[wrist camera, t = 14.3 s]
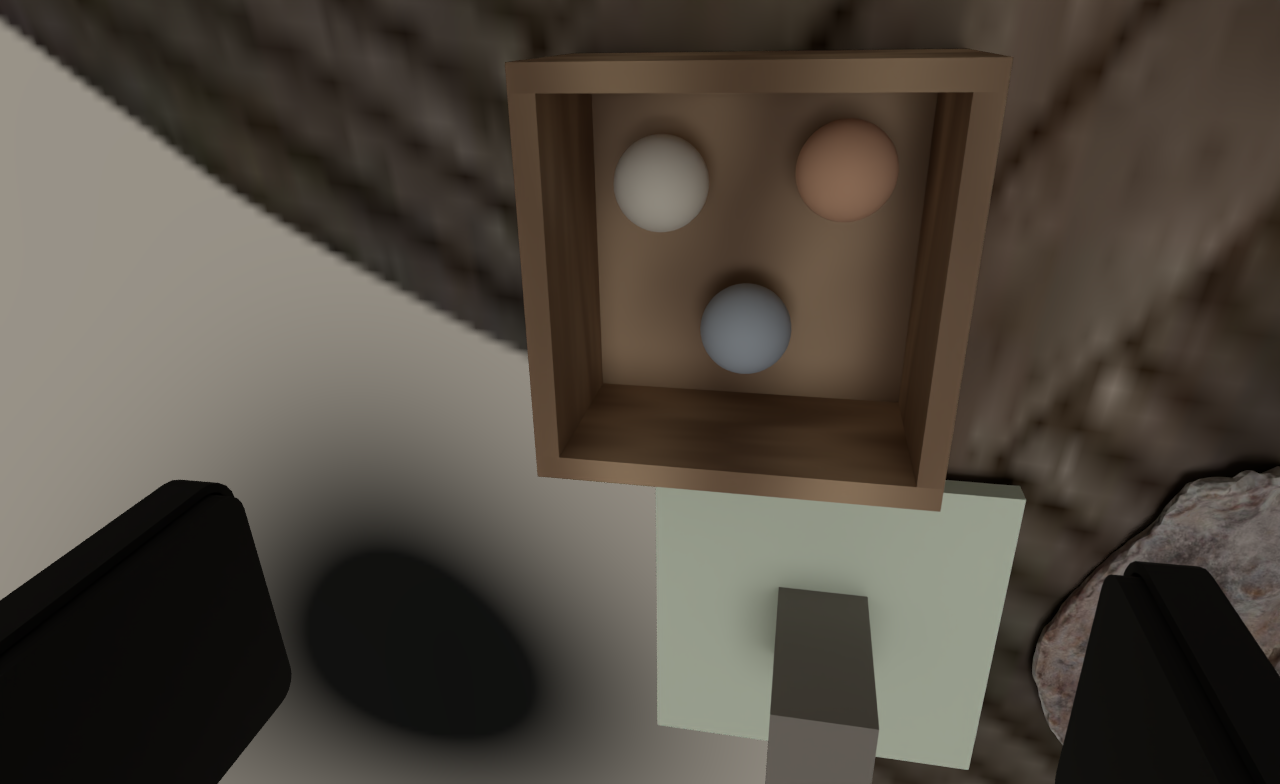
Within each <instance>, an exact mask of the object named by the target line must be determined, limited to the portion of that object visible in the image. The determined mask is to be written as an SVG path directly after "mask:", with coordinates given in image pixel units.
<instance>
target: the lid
mask: <svg viewBox="0 0 1280 784" xmlns="http://www.w3.org/2000/svg"><path fill="white" fill-rule="evenodd" d="M1025 502H1026V499H1025V496H1024V494H1023V492H1022V490H1021V487H1020V486H1012V485H1000V484H988V483H976V482H964V481H952V480H945V486H944V493H943V499H942V505H941V511H940V512H936V511H925V510H913V509H902V508H891V507H879V506H868V505H857V504H845V503H834V502H823V501H811V500H800V499H789V498H777V497H766V496H755V495H743V494H732V493H721V492H709V491H698V490H687V489H675V488H664V487H656V573H657V575H656V580H657V581H656V582H657V583H656V585H657V586H656V587H657V700H658V701H657V709H658V711H657V712H658V713H657V714H658V715H657V717H658V725H663V726H670V727H677V728H683V729H690V730H697V731H704V732H710V733H717V734H724V735H731V736H738V737H745V738H752V739H759V740H766V741H768V752H767V766H766V767H767V768H766V781H765V784H871V783H872V776H873V769H874V762H875V756H876V757H883V758H890V759H897V760H903V761H910V762H917V763H924V764H931V765H938V766H945V767H952V768H959V769H965V770H969V765H970V760H971V755H972V751H973V746H974V741H975V737H976V732H977V727H978V723H979V718H980V713H981V709H982V704H983V699H984V695H985V690H986V685H987V680H988V676H989V671H990V666H991V662H992V657H993V652H994V648H995V643H996V638H997V634H998V629H999V624H1000V620H1001V615H1002V610H1003V606H1004V601H1005V596H1006V591H1007V587H1008V582H1009V577H1010V573H1011V568H1012V563H1013V559H1014V554H1015V549H1016V545H1017V540H1018V535H1019V531H1020V526H1021V521H1022V516H1023V512H1024V507H1025Z"/></svg>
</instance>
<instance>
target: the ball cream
mask: <svg viewBox="0 0 1280 784" xmlns="http://www.w3.org/2000/svg"><path fill="white" fill-rule="evenodd" d="M708 190H709V175H708V170H707V167H706V164H705V162H704V160H703V158H702V156H701V155H700V153H699V152H698V151H697V150H696V148H694V147H693V146H692V145H691V144H690V143H689V142H687V141H686V140H684V139H682V138H680V137H677V136H674V135H670V134H654V135H649V136H646V137H643V138H641V139H639V140H637V141H636V142H635V143H633V144H632V145H631V146H630V147H629V148H628V149H627V150H626V151H625V152H624V153H623V155H622V156H621V158H620V160H619V162H618V164H617V166H616V170H615V175H614V193H615V197H616V200H617V203H618V205H619V207H620V209H621V210H622V212H623V213H624V215H625V216H626V217H627V218H628V219H629V220H630V221H631V222H633V223H634V224H635V225H637V226H639V227H641V228H643V229H645V230H648V231H653V232H669V231H674V230H677V229H679V228H682V227H684V226H685V225H687V224H688V223H690V222H691V221H692V220H693V219H694V218H695V217H696V216H697V215H698V214H699V212H700V211H701V209H702V208H703V206H704V204H705V201H706V198H707V195H708Z"/></svg>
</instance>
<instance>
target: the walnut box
mask: <svg viewBox="0 0 1280 784" xmlns="http://www.w3.org/2000/svg"><path fill="white" fill-rule="evenodd" d="M1012 63H1013V57H1010V56H1004V55H999V54H994V53H988V52H983V51H977V50H972V49H884V50H803V51H721V52H640V53H572V54H565V55H557V56H549V57H542V58H534V59H526V60H519V61H511V62H505V71H506V84H507V97H508V109H509V122H510V134H511V147H512V159H513V172H514V184H515V197H516V209H517V222H518V234H519V247H520V260H521V272H522V285H523V297H524V310H525V322H526V335H527V347H528V360H529V372H530V385H531V397H532V409H533V422H534V434H535V447H536V460H537V472H538V476H539V477H551V478H562V479H573V480H586V481H596V482H607V483H619V484H630V485H631V484H632V485H641V486H642V485H643V486H653V487H664V488H675V489H687V490H698V491H709V492H721V493H732V494H743V495H755V496H766V497H777V498H789V499H800V500H811V501H823V502H834V503H845V504H857V505H868V506H879V507H891V508H902V509H913V510H925V511H936V512H940V511H941V505H942V499H943V493H944V486H945V480H946V474H947V468H948V462H949V455H950V449H951V443H952V437H953V430H954V424H955V418H956V412H957V405H958V399H959V393H960V387H961V381H962V374H963V368H964V362H965V356H966V349H967V343H968V337H969V331H970V324H971V318H972V312H973V306H974V299H975V293H976V287H977V281H978V275H979V268H980V262H981V256H982V250H983V243H984V237H985V231H986V225H987V218H988V212H989V206H990V200H991V193H992V187H993V181H994V175H995V169H996V162H997V156H998V150H999V144H1000V137H1001V131H1002V125H1003V119H1004V112H1005V106H1006V100H1007V94H1008V87H1009V81H1010V75H1011V69H1012ZM848 118H853V119H861V120H865V121H868V122H870V123H872V124H874V125H876V126H878V127H879V128H880V129H882V130H883V131H884V132H885V133H886V134H887V135H888V137H889V138H890V139H891V141H892V142H893V144H894V146H895V149H896V151H897V156H898V162H899V174H898V179H897V183H896V186H895V188H894V190H893V192H892V194H891V196H890V197H889V199H888V200H887V201H886V203H885V204H884V205H883V206H882V207H881V208H880V209H878V210H877V211H876V212H875V213H873V214H871V215H870V216H868V217H866V218H863V219H861V220H857V221H852V222H835V221H831V220H828V219H825V218H823V217H821V216H819V215H817V214H816V213H814V212H813V211H812V210H811V209H810V208H809V207H808V206H807V205H806V204H805V203H804V201H803V199H802V198H801V196H800V193H799V191H798V188H797V184H796V177H795V170H796V163H797V159H798V156H799V153H800V151H801V149H802V147H803V145H804V144H805V143H806V141H807V140H808V138H809V137H810V136H811V135H812V134H813V133H814V132H815V131H817V130H818V129H819V128H821V127H822V126H824V125H826V124H828V123H830V122H833V121H836V120H840V119H848ZM654 134H670V135H674V136H677V137H680V138H682V139H684V140H686V141H687V142H689V143H690V144H691V145H692V146H693V147H694V148H696V150H697V151H698V152H699V153H700V155H701V156H702V158H703V160H704V162H705V164H706V167H707V170H708V175H709V190H708V195H707V198H706V201H705V204H704V206H703V208H702V209H701V211H700V212H699V214H698V215H697V216H696V217H695V218H694V219H693V220H692V221H691V222H690V223H688V224H687V225H685V226H684V227H682V228H679V229H677V230H674V231H669V232H653V231H648V230H645V229H643V228H641V227H639V226H637V225H635V224H634V223H633V222H631V221H630V220H629V219H628V218H627V217H626V216H625V215H624V213H623V212H622V210H621V209H620V207H619V205H618V203H617V200H616V197H615V193H614V175H615V170H616V166H617V164H618V162H619V160H620V158H621V156H622V155H623V153H624V152H625V151H626V150H627V149H628V148H629V147H630V146H631V145H632V144H633V143H635V142H636V141H637V140H639V139H641V138H643V137H646V136H649V135H654ZM742 283H750V284H757V285H760V286H763V287H766V288H767V289H769V290H771V291H772V292H774V293H775V294H776V295H777V296H778V297H779V298H780V299H781V300H782V301H783V303H784V304H785V306H786V308H787V310H788V312H789V315H790V319H791V337H790V341H789V344H788V347H787V349H786V351H785V352H784V354H783V355H782V356H781V358H780V359H779V360H778V361H777V362H776V363H775V364H773V365H772V366H771V367H769V368H767V369H765V370H763V371H760V372H757V373H751V374H740V373H734V372H731V371H728V370H726V369H724V368H722V367H721V366H719V365H718V364H717V363H715V362H714V361H713V360H712V358H711V357H710V356H709V355H708V353H707V352H706V350H705V348H704V346H703V343H702V339H701V332H700V326H701V319H702V315H703V313H704V310H705V308H706V306H707V305H708V303H709V302H710V301H711V299H712V298H713V297H714V296H715V295H716V294H718V293H719V292H720V291H722V290H724V289H725V288H727V287H730V286H732V285H736V284H742Z"/></svg>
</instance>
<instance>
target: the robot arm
mask: <svg viewBox="0 0 1280 784" xmlns="http://www.w3.org/2000/svg"><path fill="white" fill-rule="evenodd" d="M290 682H291V668H290V664H289V661H288V657H287V654H286V650H285V647H284V644H283V640H282V637H281V633H280V630H279V626H278V623H277V619H276V616H275V612H274V609H273V605H272V602H271V599H270V595H269V592H268V588H267V585H266V582H265V578H264V575H263V571H262V568H261V565H260V561H259V557H258V554H257V550H256V547H255V544H254V540H253V537H252V533H251V530H250V526H249V523H248V520H247V516H246V513H245V509H244V507H243V505H242V503H241V502H240V501H239V500H238V499H237V498H235V497H234V495H233V493H232V491H231V490H230V489H229V488H228V487H227V486H225V485H223V484H220V483H212V482H201V481H200V482H199V481H188V480H172V481H170V482H168V483H166V484H164V485H162V486H161V487H159V488H158V489H157V490H155V491H154V492H152V493H151V494H150V495H148V496H147V497H145V498H144V499H143V500H141V501H140V502H138V503H137V504H135V505H134V506H133V507H131V508H130V509H129V510H127V511H126V512H124V513H123V514H121V515H120V516H119V517H117V518H116V519H114V520H113V521H112V522H110V523H109V524H107V525H106V526H105V527H103V528H102V529H100V530H99V531H98V532H96V533H95V534H93V535H92V536H90V537H89V538H88V539H86V540H85V541H83V542H82V543H81V544H79V545H78V546H76V547H75V548H74V549H72V550H71V551H69V552H68V553H67V554H65V555H64V556H62V557H61V558H59V559H58V560H57V561H55V562H54V563H52V564H51V565H50V566H48V567H47V568H45V569H44V570H43V571H41V572H40V573H38V574H37V575H36V576H34V577H33V578H31V579H30V580H29V581H27V582H26V583H24V584H23V585H22V586H20V587H19V588H17V589H16V590H14V591H13V592H12V593H10V594H9V595H7V596H6V597H5V598H3V599H2V600H0V784H218V782H219V781H220V780H221V779H222V777H223V776H224V775H225V774H226V772H227V771H228V770H229V768H230V767H231V766H232V765H233V763H234V762H235V761H236V760H237V758H238V757H239V756H240V755H241V753H242V752H243V751H244V749H245V748H246V747H247V746H248V745H249V743H250V742H251V741H252V739H253V738H254V737H255V736H256V734H257V733H258V732H259V731H260V729H261V728H262V727H263V726H264V724H265V723H266V722H267V721H268V719H269V718H270V717H271V716H272V714H273V713H274V712H275V710H276V709H277V708H278V707H279V705H280V704H281V703H282V701H283V700H284V698H285V697H286V695H287V692H288V690H289V687H290ZM1055 784H1280V676H1279V674H1278V673H1277V671H1276V670H1275V668H1274V667H1273V665H1272V664H1271V662H1270V661H1269V659H1268V658H1267V656H1266V655H1265V653H1264V652H1263V650H1262V649H1261V648H1260V646H1259V645H1258V643H1257V642H1256V640H1255V639H1254V637H1253V636H1252V634H1251V633H1250V631H1249V630H1248V628H1247V627H1246V625H1245V624H1244V622H1243V621H1242V619H1241V618H1240V616H1239V615H1238V613H1237V612H1236V610H1235V609H1234V607H1233V606H1232V604H1231V603H1230V601H1229V600H1228V598H1227V597H1226V595H1225V594H1224V592H1223V591H1222V589H1221V588H1220V587H1219V585H1218V584H1217V582H1216V581H1215V579H1214V578H1213V576H1212V575H1211V574H1210V573H1209V572H1208V571H1207V570H1206V569H1205V568H1202V567H1199V566H1188V565H1177V564H1165V563H1153V562H1141V561H1134V562H1132V563H1130V564H1129V565H1128V566H1127V568H1126V569H1125V572H1124V574H1123V575H1112V574H1111V575H1108V576H1107V577H1106V578H1105V580H1104V582H1103V584H1102V587H1101V591H1100V595H1099V600H1098V604H1097V608H1096V612H1095V616H1094V620H1093V624H1092V628H1091V632H1090V637H1089V641H1088V645H1087V649H1086V653H1085V657H1084V661H1083V665H1082V669H1081V673H1080V678H1079V682H1078V686H1077V690H1076V694H1075V698H1074V702H1073V706H1072V710H1071V715H1070V719H1069V723H1068V727H1067V731H1066V735H1065V739H1064V743H1063V747H1062V752H1061V756H1060V760H1059V764H1058V768H1057V772H1056V778H1055Z"/></svg>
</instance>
